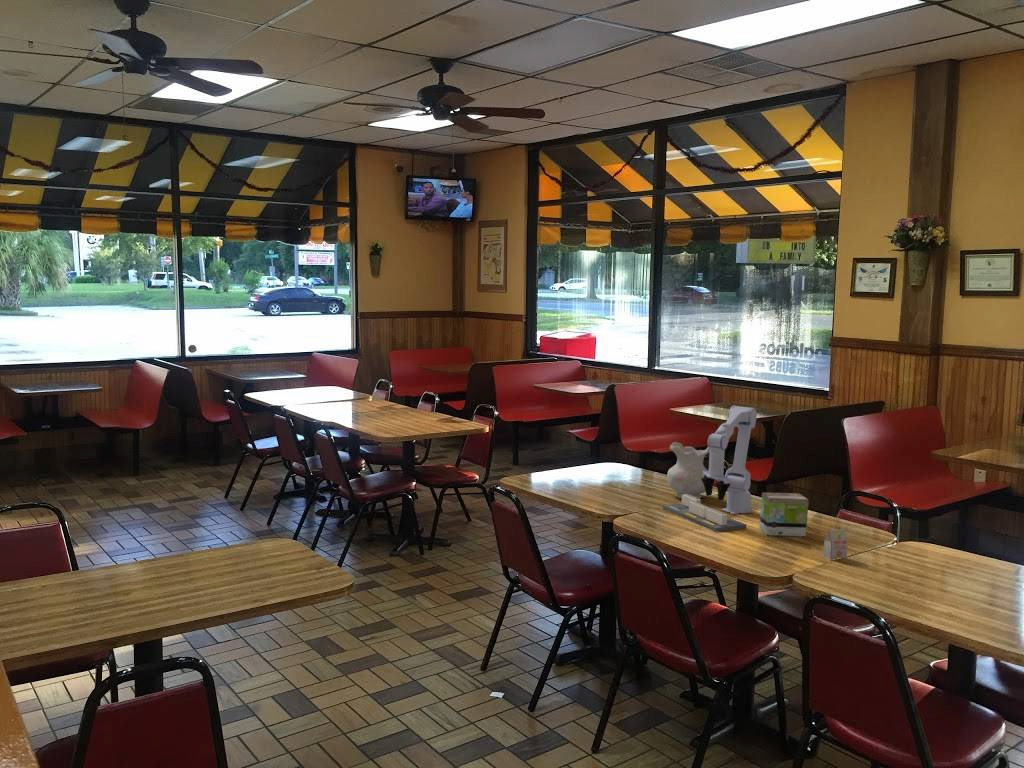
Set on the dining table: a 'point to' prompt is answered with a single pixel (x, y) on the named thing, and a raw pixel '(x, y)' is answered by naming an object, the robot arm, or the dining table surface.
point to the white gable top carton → (835, 544)
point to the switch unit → (685, 513)
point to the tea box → (783, 514)
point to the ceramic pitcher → (687, 471)
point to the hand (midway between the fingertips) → (714, 497)
